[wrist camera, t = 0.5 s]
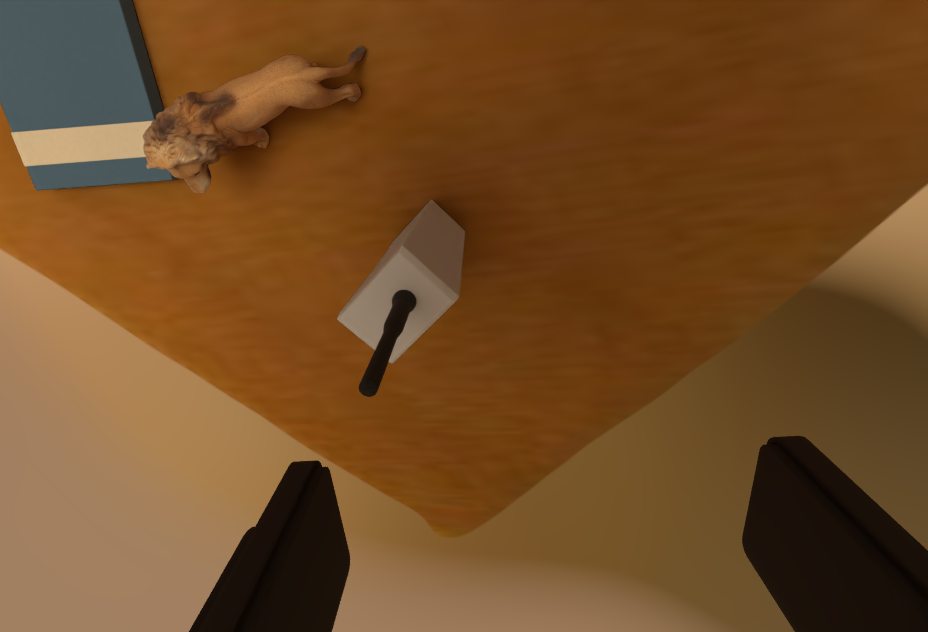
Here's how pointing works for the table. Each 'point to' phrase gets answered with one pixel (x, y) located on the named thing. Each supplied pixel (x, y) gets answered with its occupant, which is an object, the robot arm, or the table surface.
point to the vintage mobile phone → (406, 290)
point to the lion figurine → (238, 115)
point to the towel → (78, 91)
